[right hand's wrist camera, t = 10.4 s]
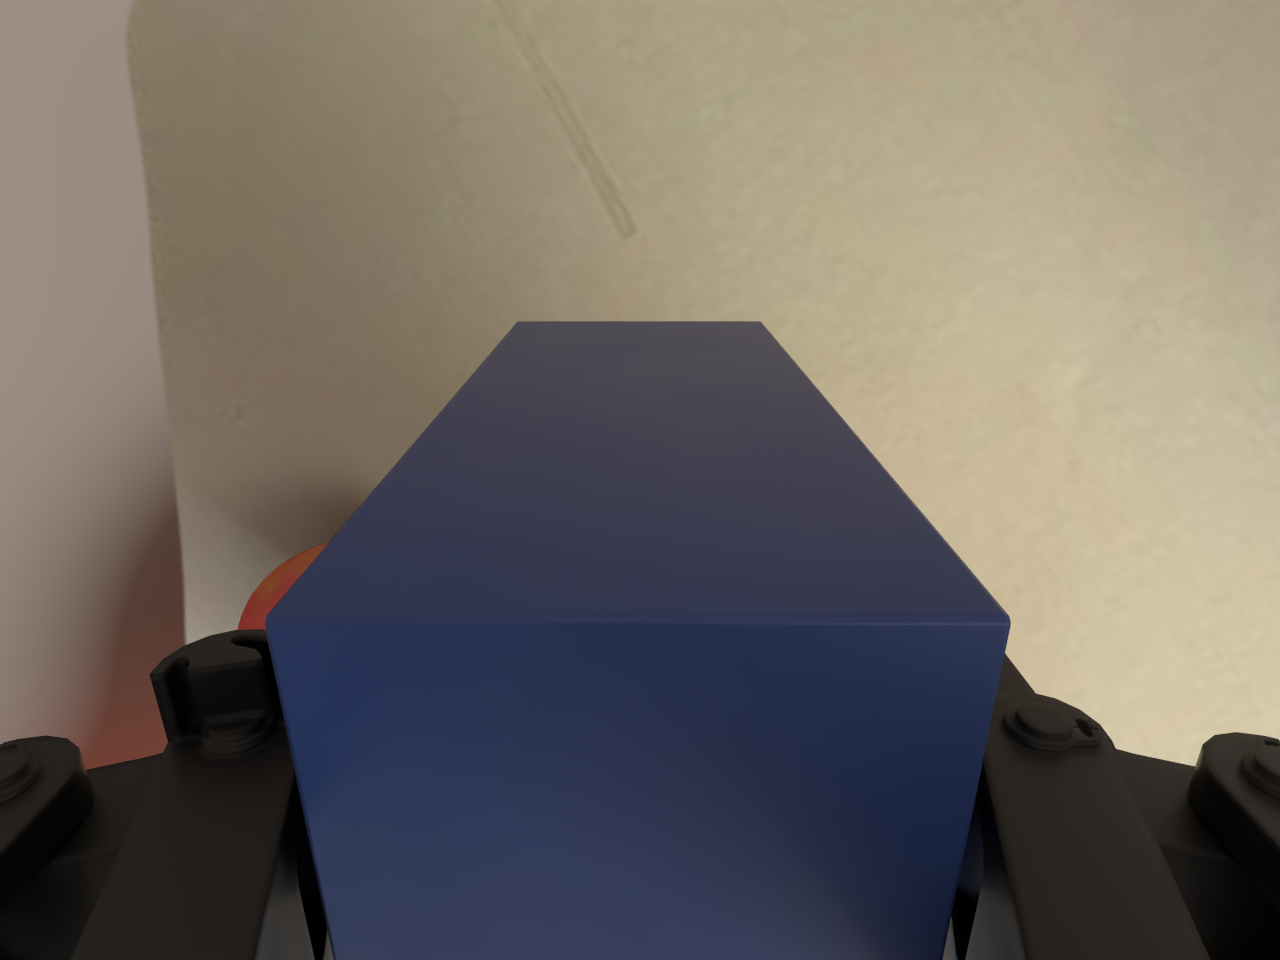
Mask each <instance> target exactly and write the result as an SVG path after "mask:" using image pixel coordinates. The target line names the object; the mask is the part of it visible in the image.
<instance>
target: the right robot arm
mask: <svg viewBox="0 0 1280 960" xmlns="http://www.w3.org/2000/svg"><path fill="white" fill-rule="evenodd" d="M150 677H151V681H152V685H153V688H154V692H155V695H156V699H157V703H158V706H159V710H160V714H161V717H162V721H163V725H164V728H165V732H166V735H167V739H168V743H167V746H166V748H165V750H164V752H163V753H160V754H157V755H153V756H149V757H145V758H140V759H136V760H131V761H126V762H121V763H117V764H112V765H107V766H102V767H97V768H93V769H88V770H86V767H85V764H84V762H83V758H82V755H81V752H80V749H79V748H78V747H77V746H76V745H75V744H74V743H72V742H71V741H70V740H68V739H66V738H59V737H52V736H39V737H32V738H23V739H17V740H13V741H9V742H4V743H3V744H1V745H0V960H334V959H333V954H332V949H331V945H330V940H329V935H328V930H327V925H326V920H325V915H324V911H323V906H322V901H321V896H320V891H319V886H318V881H317V877H316V872H315V867H314V862H313V857H312V852H311V847H310V843H309V838H308V833H307V828H306V823H305V818H304V814H303V809H302V804H301V799H300V794H299V789H298V784H297V780H296V775H295V770H294V765H293V760H292V755H291V750H290V746H289V741H288V736H287V731H286V726H285V721H284V716H283V712H282V707H281V702H280V697H279V692H278V687H277V682H276V678H275V673H274V668H273V663H272V658H271V653H270V648H269V644H268V639H267V634H266V630H263V629H249V630H234V631H229V632H225V633H220V634H215V635H211V636H208V637H205V638H203V639H200V640H198V641H195V642H193V643H190V644H188V645H185V646H183V647H182V648H180V649H179V650H177V651H175V652H174V653H172V654H171V655H169V656H168V657H166V658H164V659H163V660H162V661H161V662H160V663H159V664H158V666H157V667H156V668H155V669H154V670H153V671H152V672H151V673H150ZM942 960H1280V741H1279V739H1275V738H1271V737H1267V736H1261V735H1253V734H1245V733H1237V732H1235V733H1227V734H1220V735H1214V736H1213V737H1212V738H1210V739H1209V740H1208V741H1207V742H1205V743H1204V744H1203V745H1202V748H1201V751H1200V754H1199V757H1198V761H1197V764H1196V767H1194V766H1190V765H1185V764H1180V763H1175V762H1170V761H1166V760H1161V759H1156V758H1151V757H1146V756H1142V755H1137V754H1133V753H1129V752H1125V751H1122V750H1118V749H1115V746H1114V744H1113V742H1112V740H1111V739H1110V737H1109V736H1108V735H1107V733H1106V732H1105V731H1104V729H1103V728H1102V727H1101V725H1100V724H1099V723H1097V722H1096V721H1094V720H1093V719H1092V718H1090V717H1089V716H1088V715H1086V714H1085V713H1084V712H1082V711H1081V710H1079V709H1077V708H1075V707H1073V706H1071V705H1068V704H1066V703H1064V702H1062V701H1060V700H1057V699H1055V698H1051V697H1047V696H1043V695H1039V694H1036V693H1035V692H1034V691H1033V689H1032V688H1031V687H1030V685H1029V684H1028V683H1027V682H1026V680H1025V679H1024V678H1023V676H1022V675H1021V674H1020V672H1019V671H1018V670H1017V668H1016V667H1015V666H1014V665H1013V663H1012V662H1011V661H1010V659H1009V658H1008V657H1007V655H1006V654H1005V655H1004V659H1003V664H1002V669H1001V674H1000V679H999V684H998V689H997V694H996V699H995V704H994V709H993V714H992V719H991V723H990V728H989V733H988V738H987V743H986V748H985V753H984V758H983V763H982V768H981V773H980V778H979V782H978V787H977V792H976V797H975V802H974V807H973V812H972V817H971V822H970V827H969V832H968V837H967V841H966V846H965V851H964V856H963V861H962V866H961V871H960V876H959V881H958V886H957V891H956V896H955V900H954V905H953V910H952V915H951V920H950V925H949V930H948V935H947V940H946V945H945V950H944V955H943V959H942Z"/></svg>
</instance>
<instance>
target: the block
mask: <svg viewBox="0 0 1280 960" xmlns="http://www.w3.org/2000/svg"><path fill="white" fill-rule="evenodd" d="M1010 625H1011V622H1010V618H1009V615H1008V614H1007V613H1006V612H1005V611H1004V609H1003V608H1002V607H1001V606H1000V605H999V604H998V602H997V601H996V600H995V599H994V598H993V596H992V595H991V594H990V593H989V592H988V591H987V589H986V588H985V587H984V586H983V585H982V583H981V582H980V581H979V580H978V579H977V577H976V576H975V575H974V574H973V573H972V572H971V570H970V569H969V568H968V567H967V566H966V564H965V563H964V562H963V561H962V560H961V559H960V557H959V556H958V555H957V554H956V553H955V551H954V550H953V549H952V548H951V547H950V545H949V544H948V543H947V542H946V541H945V540H944V538H943V537H942V536H941V535H940V534H939V532H938V531H937V530H936V529H935V528H934V526H933V525H932V524H931V523H930V522H929V521H928V519H927V518H926V517H925V516H924V515H923V513H922V512H921V511H920V510H919V509H918V508H917V506H916V505H915V504H914V503H913V502H912V500H911V499H910V498H909V497H908V496H907V494H906V493H905V492H904V491H903V490H902V489H901V487H900V486H899V485H898V484H897V483H896V481H895V480H894V479H893V478H892V477H891V476H890V474H889V473H888V472H887V471H886V470H885V468H884V467H883V466H882V465H881V464H880V462H879V461H878V460H877V459H876V458H875V457H874V455H873V454H872V453H871V452H870V451H869V449H868V448H867V447H866V446H865V445H864V443H863V442H862V441H861V440H860V439H859V438H858V436H857V435H856V434H855V433H854V432H853V430H852V429H851V428H850V427H849V426H848V425H847V423H846V422H845V421H844V420H843V419H842V417H841V416H840V415H839V414H838V413H837V411H836V410H835V409H834V408H833V407H832V406H831V404H830V403H829V402H828V401H827V400H826V398H825V397H824V396H823V395H822V394H821V393H820V391H819V390H818V389H817V388H816V387H815V385H814V384H813V383H812V382H811V381H810V379H809V378H808V377H807V376H806V375H805V374H804V372H803V371H802V370H801V369H800V368H799V366H798V365H797V364H796V363H795V362H794V360H793V359H792V358H791V357H790V356H789V355H788V353H787V352H786V351H785V350H784V349H783V347H782V346H781V345H780V344H779V343H778V342H777V340H776V339H775V338H774V337H773V336H772V334H771V333H770V332H769V331H768V330H767V328H766V327H765V326H764V325H763V324H762V323H761V322H517V323H516V324H515V325H514V327H513V328H512V329H511V330H510V331H509V332H508V334H507V335H506V336H505V337H504V338H503V339H502V341H501V342H500V343H499V344H498V345H497V346H496V348H495V349H494V350H493V351H492V352H491V354H490V355H489V356H488V357H487V358H486V359H485V361H484V362H483V363H482V364H481V365H480V366H479V368H478V369H477V370H476V371H475V372H474V373H473V375H472V376H471V377H470V378H469V379H468V380H467V382H466V383H465V384H464V385H463V386H462V387H461V389H460V390H459V391H458V392H457V393H456V394H455V396H454V397H453V398H452V399H451V400H450V401H449V403H448V404H447V405H446V406H445V407H444V409H443V410H442V411H441V412H440V413H439V414H438V416H437V417H436V418H435V419H434V420H433V421H432V423H431V424H430V425H429V426H428V427H427V428H426V430H425V431H424V432H423V433H422V434H421V435H420V437H419V438H418V439H417V440H416V441H415V442H414V444H413V445H412V446H411V447H410V448H409V449H408V451H407V452H406V453H405V454H404V455H403V456H402V458H401V459H400V460H399V461H398V462H397V464H396V465H395V466H394V467H393V468H392V469H391V471H390V472H389V473H388V474H387V475H386V476H385V478H384V479H383V480H382V481H381V482H380V483H379V485H378V486H377V487H376V488H375V489H374V490H373V492H372V493H371V494H370V495H369V496H368V497H367V499H366V500H365V501H364V502H363V503H362V504H361V506H360V507H359V508H358V509H357V510H356V512H355V513H354V514H353V515H352V516H351V517H350V519H349V520H348V521H347V522H346V523H345V524H344V526H343V527H342V528H341V529H340V530H339V531H338V533H337V534H336V535H335V536H334V537H333V538H332V540H331V541H330V542H329V543H328V544H327V545H326V547H325V548H324V549H323V550H322V551H321V552H320V554H319V555H318V556H317V557H316V558H315V559H314V561H313V562H312V563H311V564H310V565H309V567H308V568H307V569H306V570H305V571H304V572H303V574H302V575H301V576H300V577H299V578H298V579H297V581H296V582H295V583H294V584H293V585H292V586H291V588H290V589H289V590H288V591H287V592H286V593H285V595H284V596H283V597H282V598H281V599H280V600H279V602H278V603H277V604H276V605H275V606H274V607H273V609H272V610H271V611H270V612H269V613H268V614H267V616H266V619H265V629H266V634H267V639H268V644H269V648H270V653H271V658H272V663H273V668H274V673H275V678H276V682H277V687H278V692H279V697H280V702H281V707H282V712H283V716H284V721H285V726H286V731H287V736H288V741H289V746H290V750H291V755H292V760H293V765H294V770H295V775H296V780H297V784H298V789H299V794H300V799H301V804H302V809H303V814H304V818H305V823H306V828H307V833H308V838H309V843H310V847H311V852H312V857H313V862H314V867H315V872H316V877H317V881H318V886H319V891H320V896H321V901H322V906H323V911H324V915H325V920H326V925H327V930H328V935H329V940H330V945H331V949H332V954H333V959H334V960H942V959H943V955H944V950H945V945H946V940H947V935H948V930H949V925H950V920H951V915H952V910H953V905H954V900H955V896H956V891H957V886H958V881H959V876H960V871H961V866H962V861H963V856H964V851H965V846H966V841H967V837H968V832H969V827H970V822H971V817H972V812H973V807H974V802H975V797H976V792H977V787H978V782H979V778H980V773H981V768H982V763H983V758H984V753H985V748H986V743H987V738H988V733H989V728H990V723H991V719H992V714H993V709H994V704H995V699H996V694H997V689H998V684H999V679H1000V674H1001V669H1002V664H1003V659H1004V655H1005V650H1006V645H1007V640H1008V635H1009V630H1010Z"/></svg>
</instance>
